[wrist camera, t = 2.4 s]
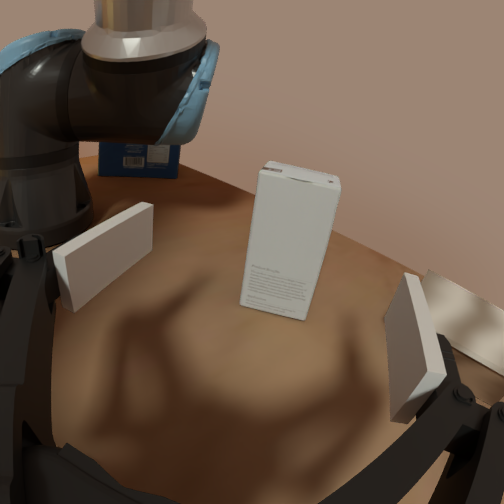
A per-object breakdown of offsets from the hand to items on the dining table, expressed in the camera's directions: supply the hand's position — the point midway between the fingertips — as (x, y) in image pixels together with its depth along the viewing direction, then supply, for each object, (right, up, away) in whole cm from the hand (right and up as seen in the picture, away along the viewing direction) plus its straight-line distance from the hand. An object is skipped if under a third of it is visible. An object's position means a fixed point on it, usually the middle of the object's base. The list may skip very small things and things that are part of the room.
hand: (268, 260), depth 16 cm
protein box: (-23, +16, +43) cm, 51 cm away
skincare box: (+1, -4, +13) cm, 14 cm away
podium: (+19, -9, +10) cm, 23 cm away
